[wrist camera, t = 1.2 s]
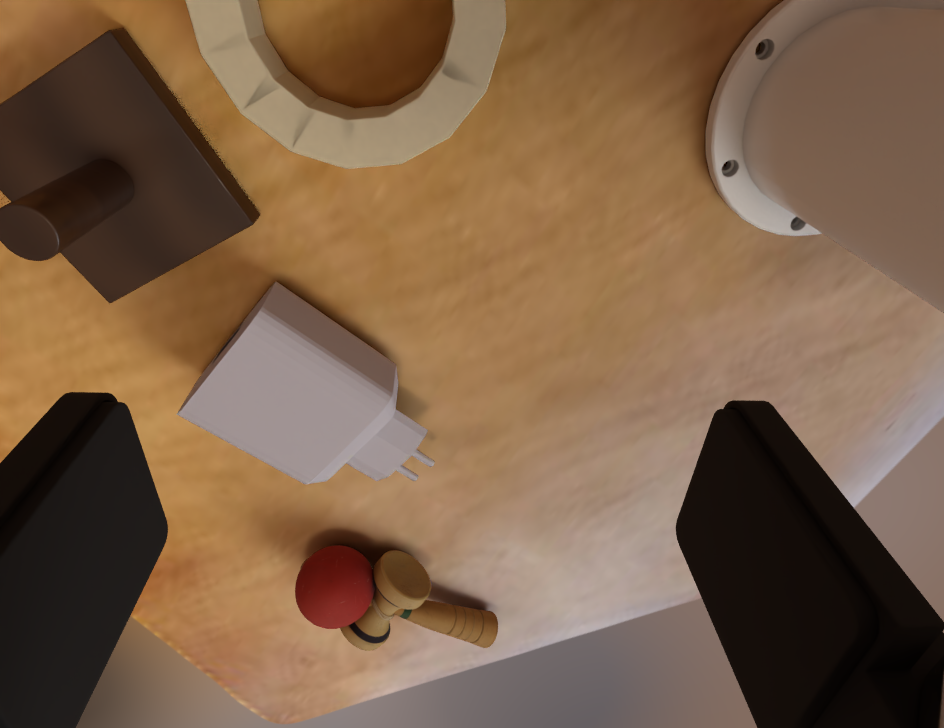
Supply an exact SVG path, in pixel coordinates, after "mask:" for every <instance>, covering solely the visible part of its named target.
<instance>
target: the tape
mask: <svg viewBox="0 0 944 728" xmlns="http://www.w3.org/2000/svg"><path fill="white" fill-rule="evenodd" d="M185 2H186V5H187V9H188V12H189V15H190V19H191V22H192V26H193V29H194V32H195V36H196V39H197V43H198V46H199V50H200V53H201V55H202V57H203V58H204V60H205V61H206V63H207V64H208V66H209V67H210V69H211V70H212V72H213V73H214V75H215V76H216V78H217V79H218V81H219V82H220V83H221V85H222V86H223V88H224V89H225V91H226V92H227V94H228V95H229V97H230V98H231V100H232V101H233V103H234V104H235V106H236V107H237V108H238V110H239V111H240V113H241V114H242V115H244V116H245V117H246V118H248V119H249V120H250V121H252V122H253V123H254V124H255V125H257V126H258V127H259V128H261V129H262V130H263V131H265V132H266V133H267V134H269V135H270V136H271V137H272V138H274V139H275V140H276V141H278V142H279V143H280V144H282V145H283V146H284V147H286V148H287V149H288V150H289V151H291V152H294V153H297V154H300V155H303V156H306V157H310V158H313V159H316V160H319V161H322V162H326V163H329V164H332V165H335V166H339V167H342V168H345V169H352V168H363V167H375V166H386V165H398V164H402V163H404V162H406V161H408V160H410V159H411V158H413V157H415V156H417V155H419V154H421V153H422V152H424V151H426V150H428V149H430V148H432V147H433V146H435V145H437V144H439V143H441V142H443V141H445V140H446V139H448V138H449V137H450V136H451V135H452V134H453V133H454V131H455V130H456V129H457V128H458V126H459V125H460V124H461V123H462V121H463V120H464V119H465V118H466V116H467V115H468V114H469V113H470V111H471V110H472V109H473V107H474V106H475V105H476V104H477V102H478V101H479V100H480V99H481V97H482V96H483V95H484V94H485V92H486V91H487V88H488V85H489V81H490V78H491V75H492V72H493V69H494V65H495V62H496V59H497V56H498V53H499V49H500V46H501V43H502V40H503V37H504V33H505V30H506V6H505V0H452V8H453V20H452V24H451V27H450V31H449V35H448V39H447V42H446V46H445V50H444V53H443V57H442V59H441V60H440V61H439V63H438V64H437V65H436V67H435V68H434V70H433V71H432V72H431V74H430V75H429V76H428V78H427V79H426V80H425V82H424V83H423V84H422V86H421V87H420V88H419V89H417V90H415V91H413V92H412V93H410V94H408V95H406V96H405V97H403V98H401V99H399V100H398V101H396V102H394V103H392V104H391V105H386V106H374V107H363V108H352V107H349V106H346V105H343V104H340V103H337V102H334V101H331V100H328V99H325V98H322V97H319V96H318V95H317V94H316V93H315V92H313V91H312V90H311V89H310V88H308V87H307V86H306V85H305V84H304V83H302V82H301V81H300V80H299V79H298V78H296V77H295V76H294V75H293V74H291V73H290V72H289V71H288V70H287V68H286V67H285V65H284V63H283V62H282V60H281V58H280V57H279V55H278V53H277V52H276V50H275V49H274V47H273V45H272V44H271V42H270V40H269V39H268V37H267V36H266V34H265V30H264V26H263V21H262V17H261V13H260V8H259V4H258V0H185Z"/></svg>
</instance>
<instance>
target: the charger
mask: <svg viewBox="0 0 944 728" xmlns="http://www.w3.org/2000/svg"><path fill="white" fill-rule="evenodd" d="M397 392H398V376H397V368H396V364H395V363H394V362H392V361H391V360H389V359H388V358H386V357H385V356H383V355H382V354H381V353H379V352H378V351H376V350H375V349H373V348H372V347H370V346H369V345H367V344H366V343H365V342H363V341H362V340H360V339H359V338H357V337H356V336H354V335H353V334H352V333H350V332H349V331H347V330H346V329H344V328H343V327H341V326H340V325H339V324H337V323H336V322H334V321H333V320H331V319H330V318H328V317H327V316H326V315H324V314H323V313H321V312H320V311H318V310H317V309H315V308H314V307H313V306H311V305H310V304H308V303H307V302H305V301H304V300H302V299H301V298H300V297H298V296H297V295H295V294H294V293H292V292H291V291H289V290H288V289H287V288H285V287H284V286H282V285H281V284H279V283H278V282H275V283H274V284H273V285H272V286H271V287H270V288H269V290H268V291H267V292H266V293H265V294H264V296H263V297H262V298H261V300H260V301H259V302H258V303H257V305H256V306H255V307H254V308H253V310H252V311H251V312H250V313H249V315H248V316H247V317H246V318H245V320H244V321H243V322H242V323H241V325H240V326H239V327H238V329H237V330H236V331H235V332H234V334H233V335H232V336H231V337H230V339H229V340H228V341H227V342H226V344H225V345H224V346H223V347H222V349H221V350H220V351H219V353H218V354H217V355H216V356H215V358H214V359H213V360H212V361H211V363H210V364H209V365H208V367H207V368H206V369H205V371H204V372H203V373H202V375H201V376H200V377H199V379H198V380H197V382H196V383H195V385H194V387H193V388H192V390H191V392H190V393H189V395H188V396H187V398H186V400H185V401H184V403H183V405H182V406H181V408H180V410H179V411H178V413H177V415H179V416H181V417H183V418H184V419H186V420H188V421H190V422H192V423H194V424H195V425H197V426H199V427H201V428H203V429H205V430H206V431H208V432H210V433H212V434H214V435H216V436H217V437H219V438H221V439H223V440H225V441H227V442H228V443H230V444H232V445H234V446H236V447H237V448H239V449H241V450H243V451H245V452H247V453H248V454H250V455H252V456H254V457H256V458H258V459H259V460H261V461H263V462H265V463H267V464H269V465H270V466H272V467H274V468H276V469H278V470H280V471H281V472H283V473H285V474H287V475H289V476H291V477H292V478H294V479H296V480H298V481H300V482H302V483H303V484H311V483H317V482H324V481H327V480H329V479H330V478H331V477H332V476H333V475H334V474H335V473H336V472H337V471H338V470H339V469H340V468H341V467H342V466H343V465H344V464H345V463H346V464H348V465H350V466H352V467H353V468H355V469H357V470H358V471H360V472H362V473H364V474H365V475H367V476H369V477H370V478H372V479H374V480H376V481H378V480H381V479H384V478H387V477H389V476H390V475H391V474H392V473H393V472H394V471H395V470H396V471H398V472H400V473H401V474H403V475H405V476H406V477H408V478H410V479H411V480H413V481H416V480H417V479H418V475H417V474H415V473H414V472H412V471H410V470H409V469H407V468H405V467H404V466H402V464H403V463H404V462H405V461H406V460H407V459H409V458H410V457H411V455H412V456H413V457H415V458H417V459H418V460H420V461H421V462H423V463H425V464H426V465H428V466H429V467H432V466H433V465H434V460H432V459H431V458H429V457H427V456H426V455H424V454H423V453H421V452H419V451H418V450H416V449H417V447H418V446H419V444H420V443H421V442H422V440H423V439H424V437H425V435H426V433H427V431H428V430H427V429H425V428H424V427H422V426H421V425H419V424H418V423H416V422H415V421H413V420H411V419H410V418H408V417H407V416H405V415H404V414H402V413H401V412H399V411H398V410H396V401H397Z"/></svg>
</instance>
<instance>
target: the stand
mask: <svg viewBox="0 0 944 728" xmlns="http://www.w3.org/2000/svg"><path fill="white" fill-rule="evenodd" d="M0 190H1V191H2V192H3V193H4V195H5V196H6V197H7V198H8V199H9V200H10V201H11V203H9V204H7V205H5V206H3V207H1V208H0V241H1V242H2V243H3V244H4V245H5V246H6V247H7V248H8V249H9V250H10V251H12V252H13V253H15V254H16V255H18V256H20V257H22V258H25V259H28V260H33V261H43V260H48V259H50V258H52V257H54V256H55V255H56V254H58V253H59V252H60V253H61V254H62V255H63V256H64V257H65V258H66V259H67V260H68V261H69V262H70V263H71V264H72V265H73V266H74V267H75V268H76V269H77V270H78V271H79V272H80V273H81V274H82V275H83V276H84V277H85V278H86V279H87V280H88V282H89V283H90V284H91V285H92V286H93V287H94V288H95V289H96V290H97V291H98V292H99V293H100V294H101V295H102V296H103V297H104V298H105V299H106V300H107V301H108V302H109V303H112V302H114V301H116V300H118V299H119V298H121V297H123V296H125V295H127V294H128V293H130V292H132V291H134V290H136V289H137V288H139V287H141V286H143V285H145V284H146V283H148V282H150V281H152V280H154V279H156V278H157V277H159V276H161V275H163V274H165V273H166V272H168V271H170V270H172V269H174V268H175V267H177V266H179V265H181V264H183V263H184V262H186V261H188V260H190V259H192V258H193V257H195V256H197V255H199V254H201V253H203V252H204V251H206V250H208V249H210V248H212V247H213V246H215V245H217V244H219V243H221V242H222V241H224V240H226V239H228V238H230V237H231V236H233V235H235V234H237V233H239V232H241V231H242V230H244V229H246V228H248V227H250V226H251V225H253V224H254V223H255V221H256V220H257V219H258V218H259V216H260V214H259V212H258V211H257V210H256V208H255V207H254V206H253V204H252V203H251V201H250V200H249V199H248V197H247V196H246V195H245V193H244V192H243V190H242V189H241V188H240V186H239V185H238V184H237V182H236V181H235V180H234V178H233V177H232V175H231V174H230V173H229V171H228V170H227V169H226V167H225V166H224V164H223V163H222V162H221V160H220V159H219V158H218V156H217V155H216V154H215V152H214V151H213V149H212V148H211V147H210V145H209V144H208V143H207V141H206V140H205V138H204V137H203V136H202V134H201V133H200V132H199V130H198V129H197V127H196V126H195V125H194V123H193V122H192V121H191V119H190V118H189V117H188V115H187V114H186V112H185V111H184V110H183V108H182V107H181V106H180V104H179V103H178V101H177V100H176V99H175V97H174V96H173V95H172V93H171V92H170V91H169V89H168V88H167V86H166V85H165V84H164V82H163V81H162V80H161V78H160V77H159V75H158V74H157V73H156V71H155V70H154V69H153V67H152V66H151V64H150V63H149V62H148V60H147V59H146V58H145V56H144V55H143V54H142V52H141V51H140V49H139V48H138V47H137V45H136V44H135V43H134V41H133V40H132V38H131V37H130V36H129V34H128V33H127V32H126V30H125V29H124V28H123V29H115V30H108V31H107V32H105V33H104V34H102V35H101V36H100V37H98V38H97V39H95V40H94V41H92V42H91V43H89V44H88V45H86V46H85V47H83V48H82V49H81V50H79V51H78V52H76V53H75V54H73V55H72V56H70V57H69V58H67V59H66V60H64V61H63V62H62V63H60V64H59V65H57V66H56V67H54V68H53V69H51V70H50V71H48V72H47V73H45V74H44V75H43V76H41V77H40V78H38V79H37V80H35V81H34V82H32V83H31V84H29V85H28V86H26V87H25V88H24V89H22V90H21V91H19V92H18V93H16V94H15V95H13V96H12V97H10V98H9V99H7V100H6V101H5V102H3V103H2V104H0Z"/></svg>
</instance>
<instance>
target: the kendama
mask: <svg viewBox="0 0 944 728" xmlns="http://www.w3.org/2000/svg"><path fill="white" fill-rule="evenodd" d="M430 591H431V581H430V578H429V576H428V574H427V572H426V570H425V569H424V567H423V566H422V565H421V564H420V563H419V562H418V561H417V560H416V559H415V558H413V557H412V556H410V555H409V554H407V553H405V552H402V551H398V550H391V551H388V552H386V553H385V554H384V555H383V556H382V557H381V558H380V559H379V560H378V561H377V562H376V564H375V566H374V568H373V569H372V567H371V565H370V563H369V562H368V560H367V559H366V558H365V557H364V556H363V555H362V554H361V553H360V552H358V551H357V550H355V549H353V548H350V547H347V546H341V545H336V546H328V547H325V548H323V549H320V550H318V551H317V552H315V553H314V554H313V555H312V556H310V557H309V558H308V559H306V560H305V561H304V563H303V564H302V566H301V570H300V572H299V574H298V577H297V581H296V587H295V596H296V602H297V605H298V607H299V609H300V611H301V613H302V614H303V615H304V616H305V618H307V619H308V620H309V621H310V622H311V623H313V624H314V625H316V626H319V627H322V628H327V629H337V628H340V629H341V631H342V633H343V635H344V636H345V638H346V639H347V640H348V641H349V642H350V643H351V644H353V645H354V646H356V647H358V648H359V649H362V650H365V651H370V650H375V649H377V648H378V647H380V646H381V645H382V644H383V643H384V642H385V641H386V640H387V639H388V637H389V634H390V623H389V620H391V619H392V618H393V617H394V614H395V615H398V616H400V617H402V618H404V619H406V620H409V621H411V622H413V623H416V624H418V625H420V626H423V627H425V628H428V629H430V630H433V631H436V632H439V633H442V634H446V635H448V636H452V637H455V638H458V639H461V640H464V641H467V642H470V643H472V644H475V645H477V646H480V647H483V648H488V647H490V646H491V645H492V644H493V642H494V641H495V639H496V636H497V632H498V621H497V617H496V615H495V614H494V613H493V612H491V611H485V610H478V609H473V608H467V607H462V606H457V605H451V604H447V603H442V602H436V601H429V600H426V599H427V597H428V596H429V594H430Z"/></svg>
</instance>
